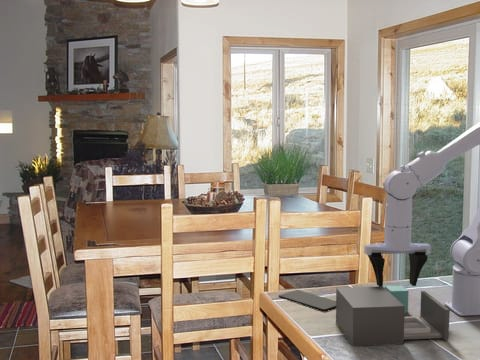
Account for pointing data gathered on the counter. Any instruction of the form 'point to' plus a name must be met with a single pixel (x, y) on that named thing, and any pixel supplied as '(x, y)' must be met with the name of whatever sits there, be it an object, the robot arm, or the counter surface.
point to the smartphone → (310, 300)
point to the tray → (428, 320)
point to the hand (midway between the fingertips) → (396, 285)
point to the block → (399, 294)
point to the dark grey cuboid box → (370, 316)
